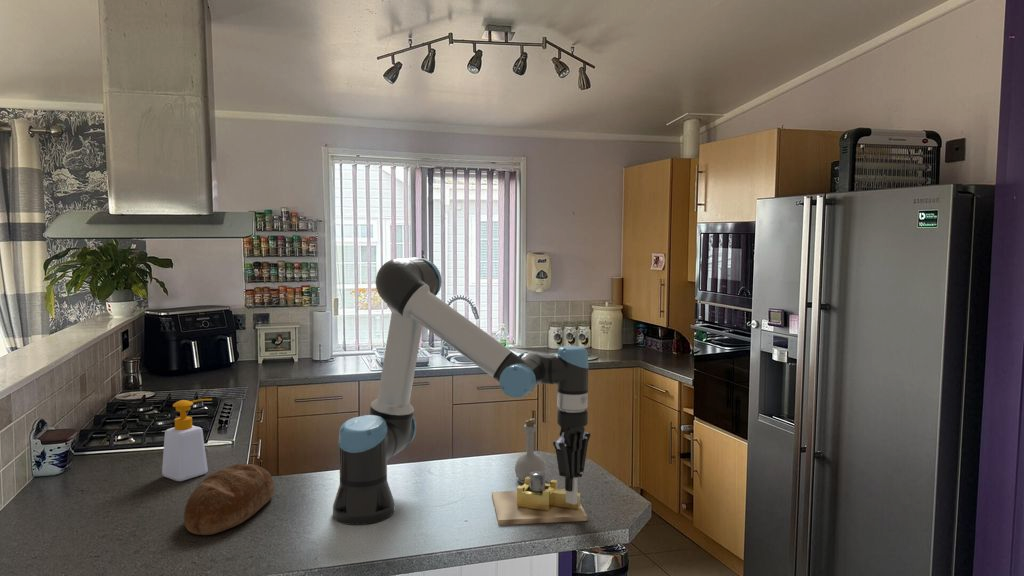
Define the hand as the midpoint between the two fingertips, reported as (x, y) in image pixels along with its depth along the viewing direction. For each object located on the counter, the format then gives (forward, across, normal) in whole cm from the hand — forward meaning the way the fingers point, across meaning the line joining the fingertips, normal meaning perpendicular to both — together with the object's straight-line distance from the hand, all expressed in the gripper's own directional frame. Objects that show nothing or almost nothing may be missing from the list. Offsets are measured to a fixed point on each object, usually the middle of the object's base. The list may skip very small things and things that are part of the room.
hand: (571, 502), depth 164 cm
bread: (+4, -54, +66) cm, 86 cm away
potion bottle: (+3, +13, +24) cm, 27 cm away
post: (+3, -2, +10) cm, 10 cm away
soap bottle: (+3, -49, +102) cm, 113 cm away
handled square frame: (+2, 0, +6) cm, 7 cm away
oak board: (+3, -2, +10) cm, 10 cm away
